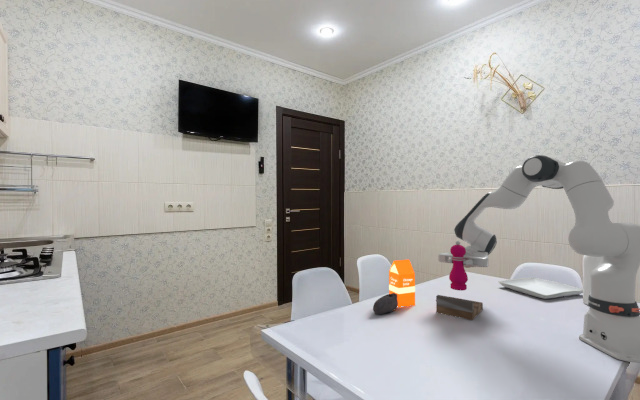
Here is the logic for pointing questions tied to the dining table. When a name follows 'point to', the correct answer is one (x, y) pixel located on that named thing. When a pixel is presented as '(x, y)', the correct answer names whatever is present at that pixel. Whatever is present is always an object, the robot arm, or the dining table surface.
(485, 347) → the dining table surface
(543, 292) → the square plate
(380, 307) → the perforated stone tool
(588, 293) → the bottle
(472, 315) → the walnut stand
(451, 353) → the dining table surface
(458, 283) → the pepper mill
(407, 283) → the orange juice
